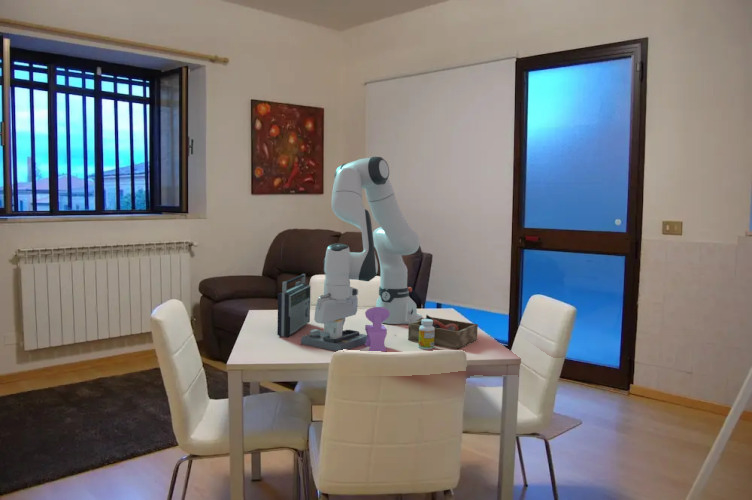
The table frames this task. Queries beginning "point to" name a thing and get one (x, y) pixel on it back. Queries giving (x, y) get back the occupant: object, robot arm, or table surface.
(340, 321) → the white cylinder
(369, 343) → the toy chair
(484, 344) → the table surface
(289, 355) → the table surface
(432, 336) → the supplement bottle
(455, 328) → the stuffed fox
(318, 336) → the console
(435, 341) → the wooden tray
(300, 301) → the radio
